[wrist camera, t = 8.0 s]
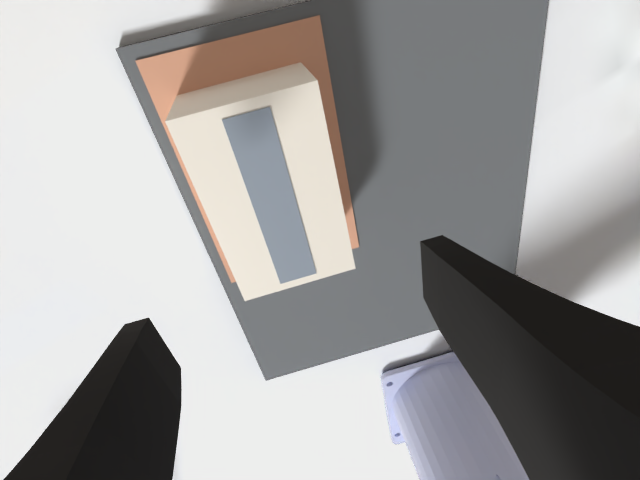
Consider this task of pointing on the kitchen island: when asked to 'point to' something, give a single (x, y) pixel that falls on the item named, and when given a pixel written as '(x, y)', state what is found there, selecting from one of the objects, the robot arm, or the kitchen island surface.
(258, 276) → the card deck
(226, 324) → the kitchen island surface
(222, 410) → the kitchen island surface
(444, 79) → the mat
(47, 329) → the kitchen island surface
